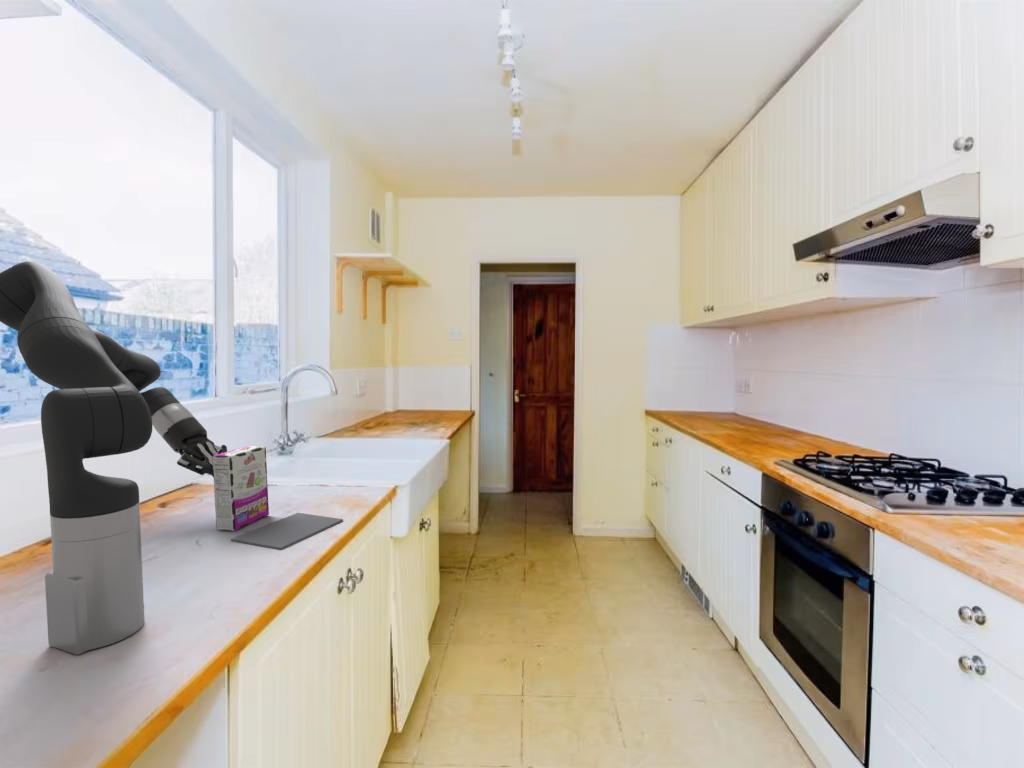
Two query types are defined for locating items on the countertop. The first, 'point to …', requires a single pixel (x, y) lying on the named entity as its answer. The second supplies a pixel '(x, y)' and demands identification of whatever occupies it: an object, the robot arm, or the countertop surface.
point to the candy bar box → (240, 487)
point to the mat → (287, 531)
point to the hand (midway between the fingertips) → (228, 482)
